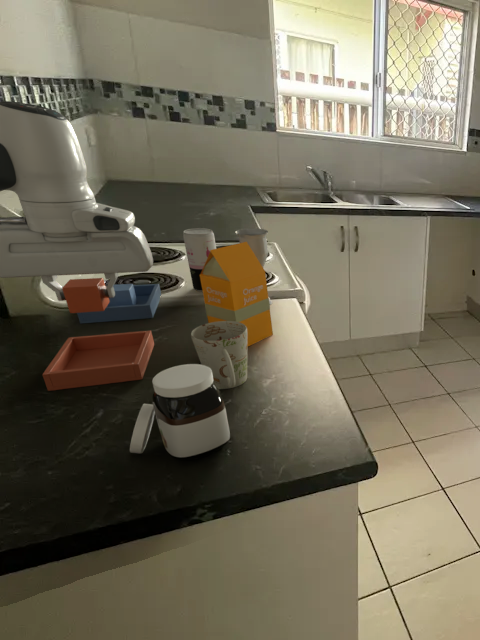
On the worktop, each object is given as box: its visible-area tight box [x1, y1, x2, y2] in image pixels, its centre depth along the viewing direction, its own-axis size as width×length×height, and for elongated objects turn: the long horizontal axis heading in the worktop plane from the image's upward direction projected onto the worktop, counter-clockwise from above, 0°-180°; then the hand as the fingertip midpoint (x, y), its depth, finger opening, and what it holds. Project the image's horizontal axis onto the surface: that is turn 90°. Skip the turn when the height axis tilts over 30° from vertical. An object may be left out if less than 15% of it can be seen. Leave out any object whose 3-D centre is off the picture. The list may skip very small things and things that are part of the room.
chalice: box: [235, 227, 273, 306], centre depth 114 cm, size 7×7×18 cm
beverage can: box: [182, 227, 217, 293], centre depth 121 cm, size 7×7×15 cm
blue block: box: [108, 283, 137, 307], centre depth 107 cm, size 4×4×4 cm
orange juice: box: [200, 242, 274, 348], centre depth 96 cm, size 8×9×20 cm
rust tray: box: [41, 330, 155, 392], centre depth 85 cm, size 13×15×3 cm
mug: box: [190, 321, 248, 390], centre depth 82 cm, size 8×13×10 cm, turn 40°
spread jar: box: [129, 363, 231, 461], centre depth 66 cm, size 12×11×12 cm
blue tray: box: [76, 283, 162, 324], centre depth 108 cm, size 13×15×3 cm
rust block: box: [62, 277, 110, 314], centre depth 81 cm, size 4×4×4 cm
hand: (88, 298), depth 81 cm, fingers closed on rust block, 4 cm apart
